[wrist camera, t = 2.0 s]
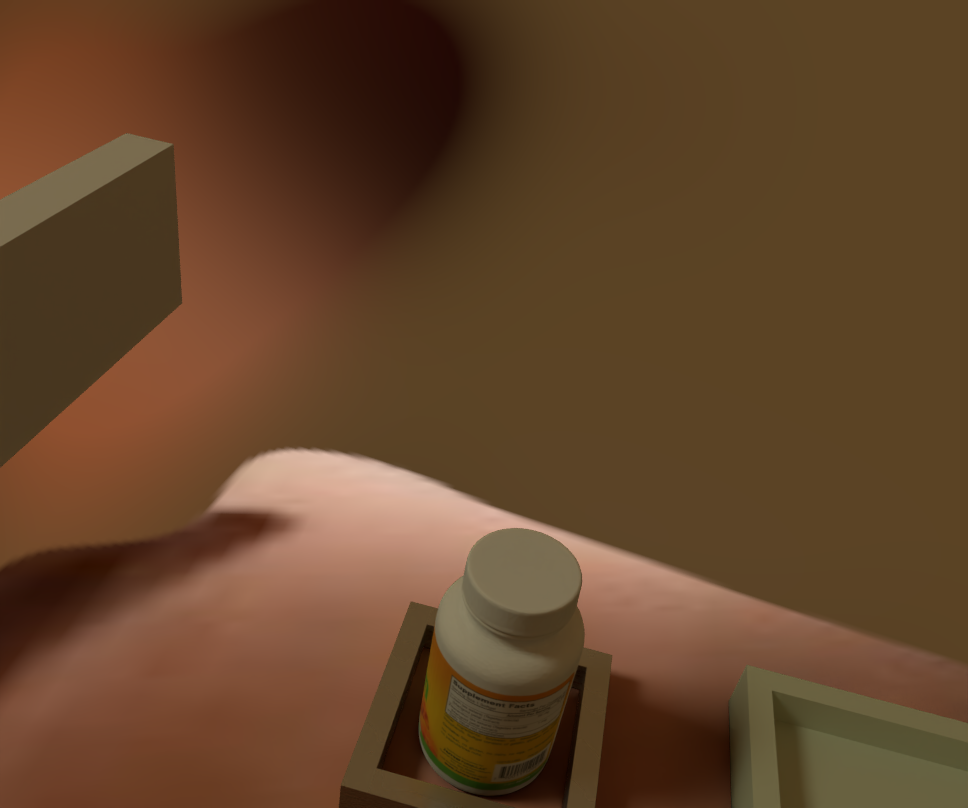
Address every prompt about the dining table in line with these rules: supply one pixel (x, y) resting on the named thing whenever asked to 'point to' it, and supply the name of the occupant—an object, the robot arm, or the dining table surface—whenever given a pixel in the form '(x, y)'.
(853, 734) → the tray
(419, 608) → the holder ring
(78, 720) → the dining table surface
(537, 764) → the supplement bottle
